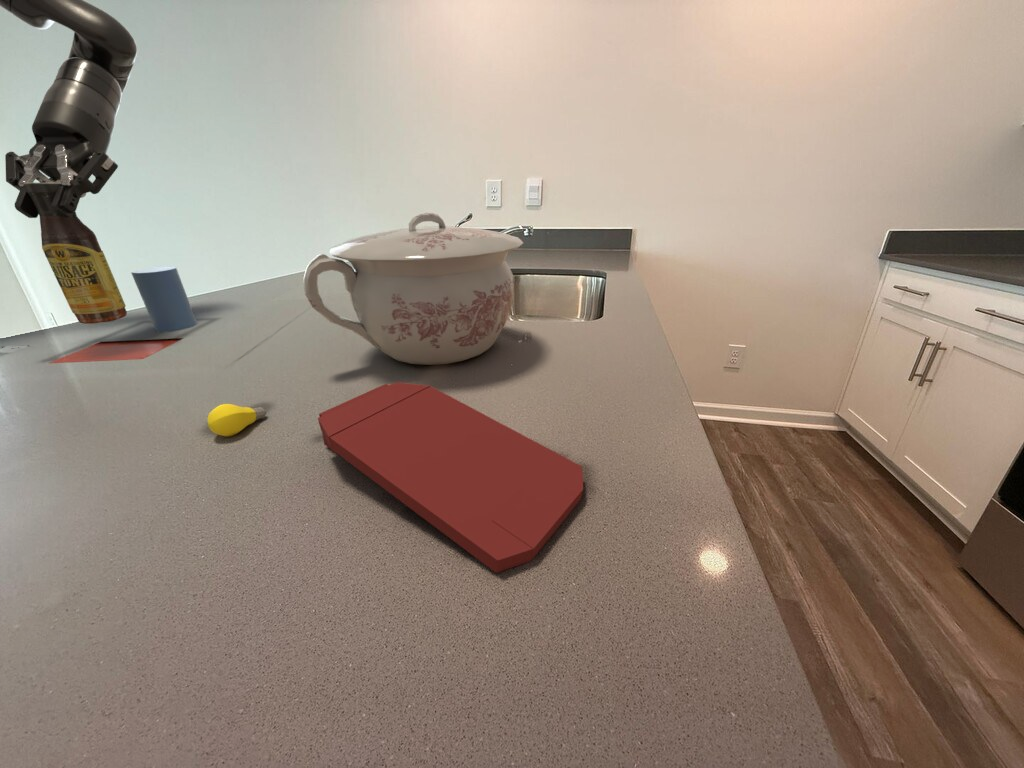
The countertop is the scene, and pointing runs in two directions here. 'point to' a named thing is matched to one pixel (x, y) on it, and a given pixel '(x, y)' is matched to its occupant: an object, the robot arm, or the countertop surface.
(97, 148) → the robot arm
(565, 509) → the red chamfered slab
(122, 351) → the board
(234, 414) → the light bulb
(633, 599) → the countertop surface
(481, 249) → the chamber pot
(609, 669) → the countertop surface
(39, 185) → the sauce bottle
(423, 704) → the countertop surface
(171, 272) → the blue can
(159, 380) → the countertop surface
